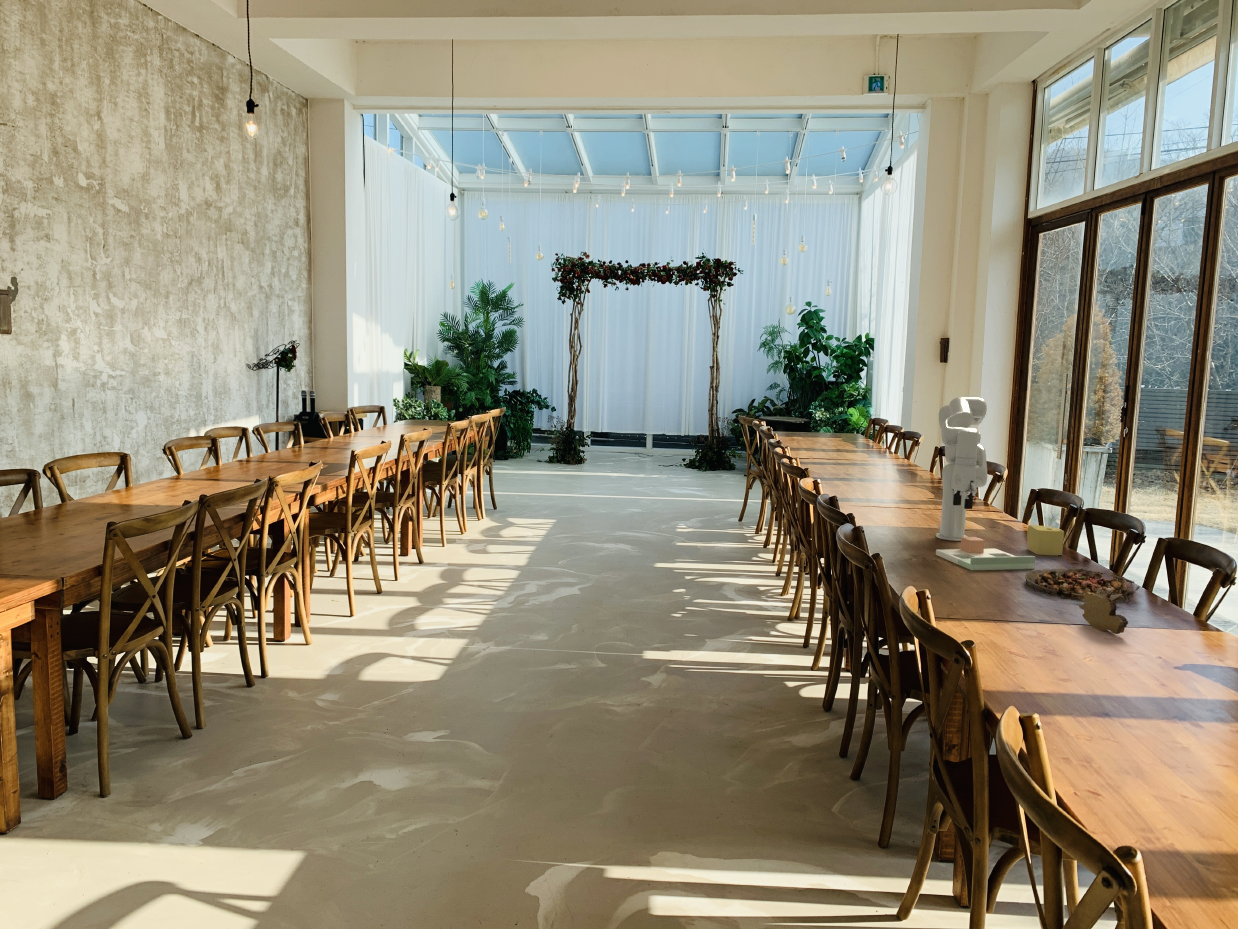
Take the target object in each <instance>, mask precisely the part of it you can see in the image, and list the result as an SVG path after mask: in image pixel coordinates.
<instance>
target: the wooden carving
mask: <svg viewBox="0 0 1238 929" xmlns="http://www.w3.org/2000/svg"><path fill="white" fill-rule="evenodd" d="M1083 602H1084V603H1083V604H1079V605H1078V607H1079V609H1080V610H1083V614H1082V615H1081V616H1082V617H1083V619H1084V620H1085V621H1086V623H1088V625H1090V626H1091V627H1092V628H1094V629H1096V630H1098V631H1101V632H1102V631H1103V632H1104V631H1105V632H1106V631H1110V632H1111V633H1112V634H1115V635H1118V634H1123V633H1124V632H1125V628H1126V627H1127V625H1128V624H1129V621H1128V620H1127V618H1126V617H1125V616H1123V615H1121V614H1117V603H1115V602H1114V601H1111V600H1110V599H1109V598H1108V597H1107V596H1105V595H1101V594H1086V595H1085V597H1084V601H1083Z"/></svg>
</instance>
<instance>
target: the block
mask: <svg viewBox="0 0 1238 929" xmlns="http://www.w3.org/2000/svg"><path fill="white" fill-rule="evenodd" d="M959 549H960V550H962V551H964V552H967V553H984V549H985V539H982V538H980V537H977V536H968V537H961V541H960V548H959Z"/></svg>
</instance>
